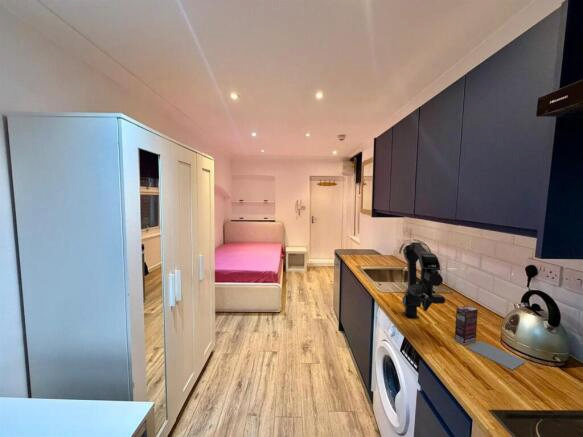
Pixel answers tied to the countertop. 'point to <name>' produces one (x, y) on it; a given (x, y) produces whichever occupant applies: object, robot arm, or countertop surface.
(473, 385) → the countertop surface
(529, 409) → the countertop surface
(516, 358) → the mat
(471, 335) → the supplement box
